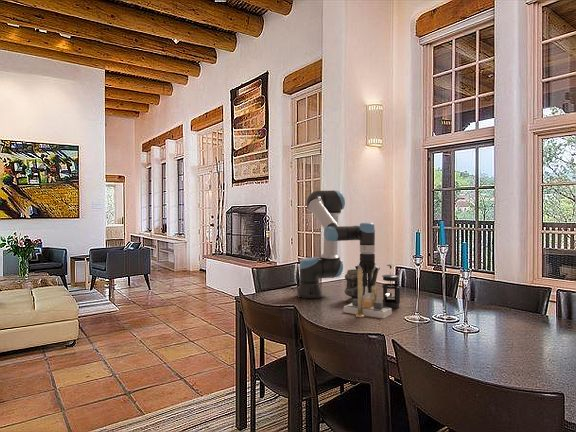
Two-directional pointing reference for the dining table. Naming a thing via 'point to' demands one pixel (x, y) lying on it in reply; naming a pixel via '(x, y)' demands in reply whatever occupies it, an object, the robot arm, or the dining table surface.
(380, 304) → the paddle far
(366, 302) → the paddle mid
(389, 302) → the black lantern
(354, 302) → the paddle near base
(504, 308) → the dining table surface
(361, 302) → the candlestick
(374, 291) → the candlestick
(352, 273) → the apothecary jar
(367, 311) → the panel
